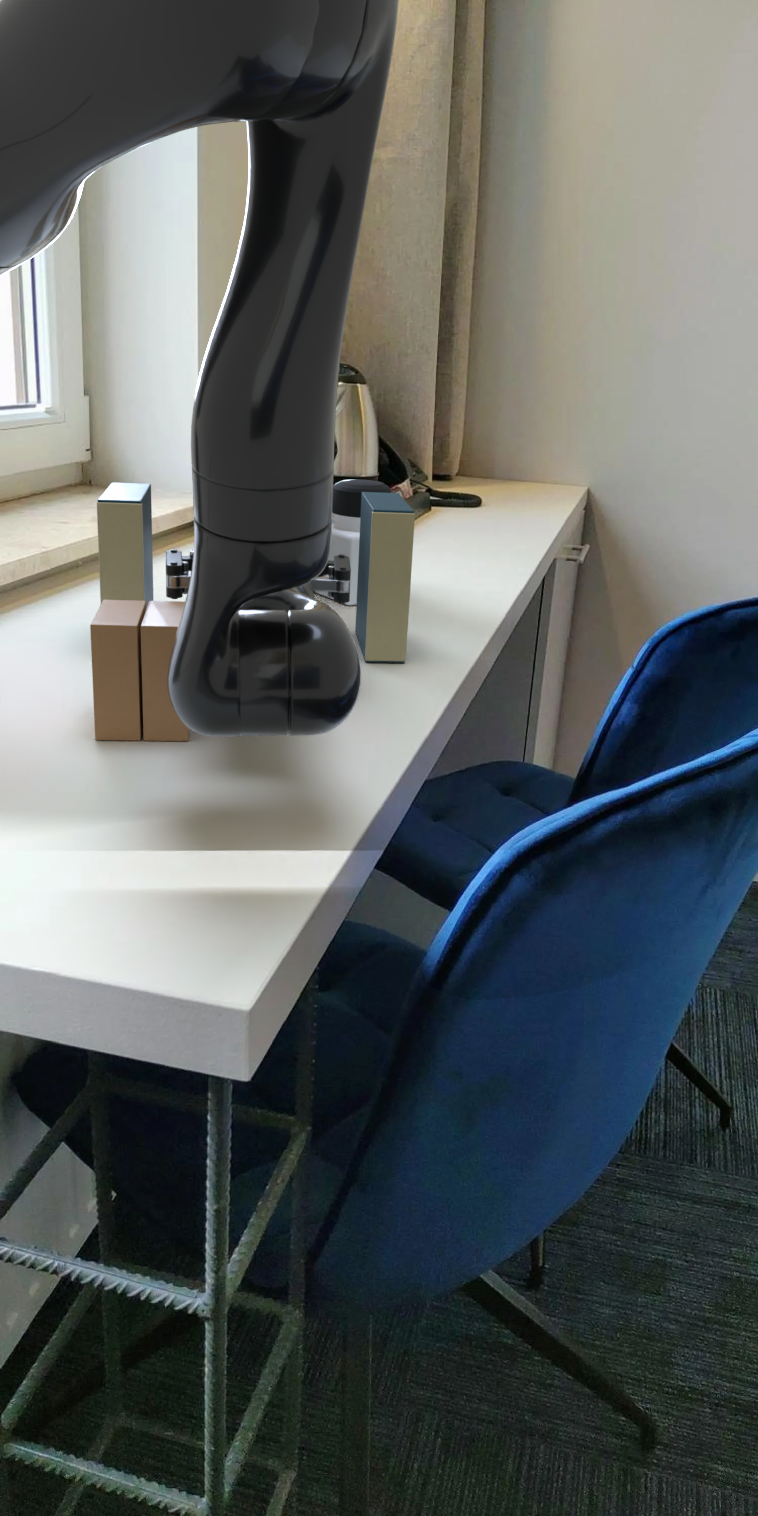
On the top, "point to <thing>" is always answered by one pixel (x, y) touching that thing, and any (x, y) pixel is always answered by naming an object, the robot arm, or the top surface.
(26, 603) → the top surface
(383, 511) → the teal book
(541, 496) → the top surface
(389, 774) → the top surface
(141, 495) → the teal book
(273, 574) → the robot arm
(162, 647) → the tan book
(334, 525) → the medicine bottle
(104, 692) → the tan book
